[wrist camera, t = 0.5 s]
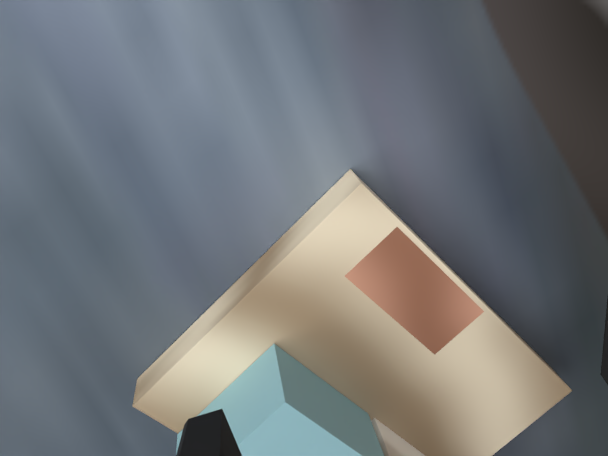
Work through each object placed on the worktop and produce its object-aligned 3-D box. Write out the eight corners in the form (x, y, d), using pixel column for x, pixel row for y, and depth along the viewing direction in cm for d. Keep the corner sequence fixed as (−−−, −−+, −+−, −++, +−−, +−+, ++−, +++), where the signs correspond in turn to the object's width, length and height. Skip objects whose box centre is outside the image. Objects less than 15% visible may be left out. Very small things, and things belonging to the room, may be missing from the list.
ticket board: (365, 521, 26) (396, 625, 21) (137, 378, 21) (119, 477, 16) (551, 367, 24) (625, 448, 19) (350, 168, 19) (391, 219, 14)
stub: (276, 493, 22) (286, 565, 19) (177, 434, 20) (172, 504, 17) (368, 413, 21) (392, 476, 18) (274, 343, 19) (285, 401, 16)
